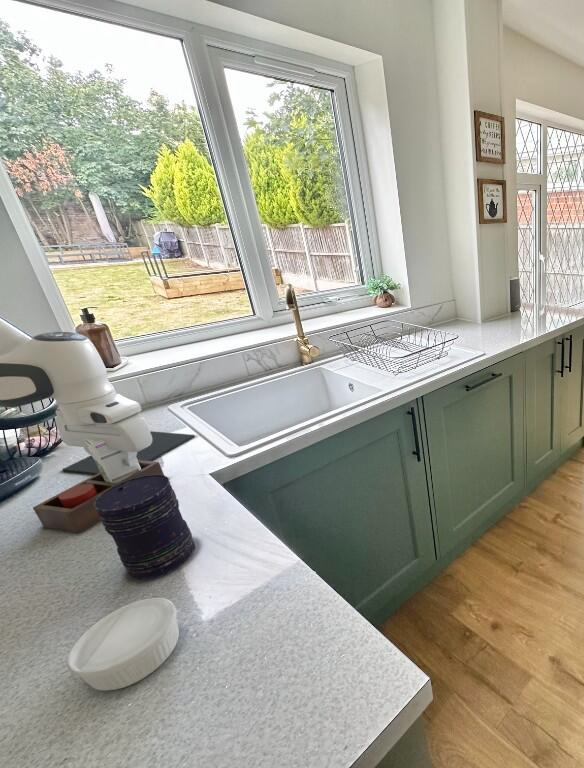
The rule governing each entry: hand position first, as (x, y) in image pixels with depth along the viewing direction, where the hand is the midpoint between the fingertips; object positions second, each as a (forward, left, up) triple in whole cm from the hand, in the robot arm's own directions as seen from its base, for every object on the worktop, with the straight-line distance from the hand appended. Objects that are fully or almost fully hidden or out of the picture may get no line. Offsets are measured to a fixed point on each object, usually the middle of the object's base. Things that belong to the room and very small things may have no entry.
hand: (117, 463), depth 92 cm
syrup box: (0, 0, -7) cm, 7 cm away
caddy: (0, -4, -7) cm, 8 cm away
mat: (-16, +14, -7) cm, 22 cm away
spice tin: (0, -9, -7) cm, 11 cm away
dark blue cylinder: (+28, -16, -7) cm, 33 cm away
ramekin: (+42, -32, -7) cm, 53 cm away
